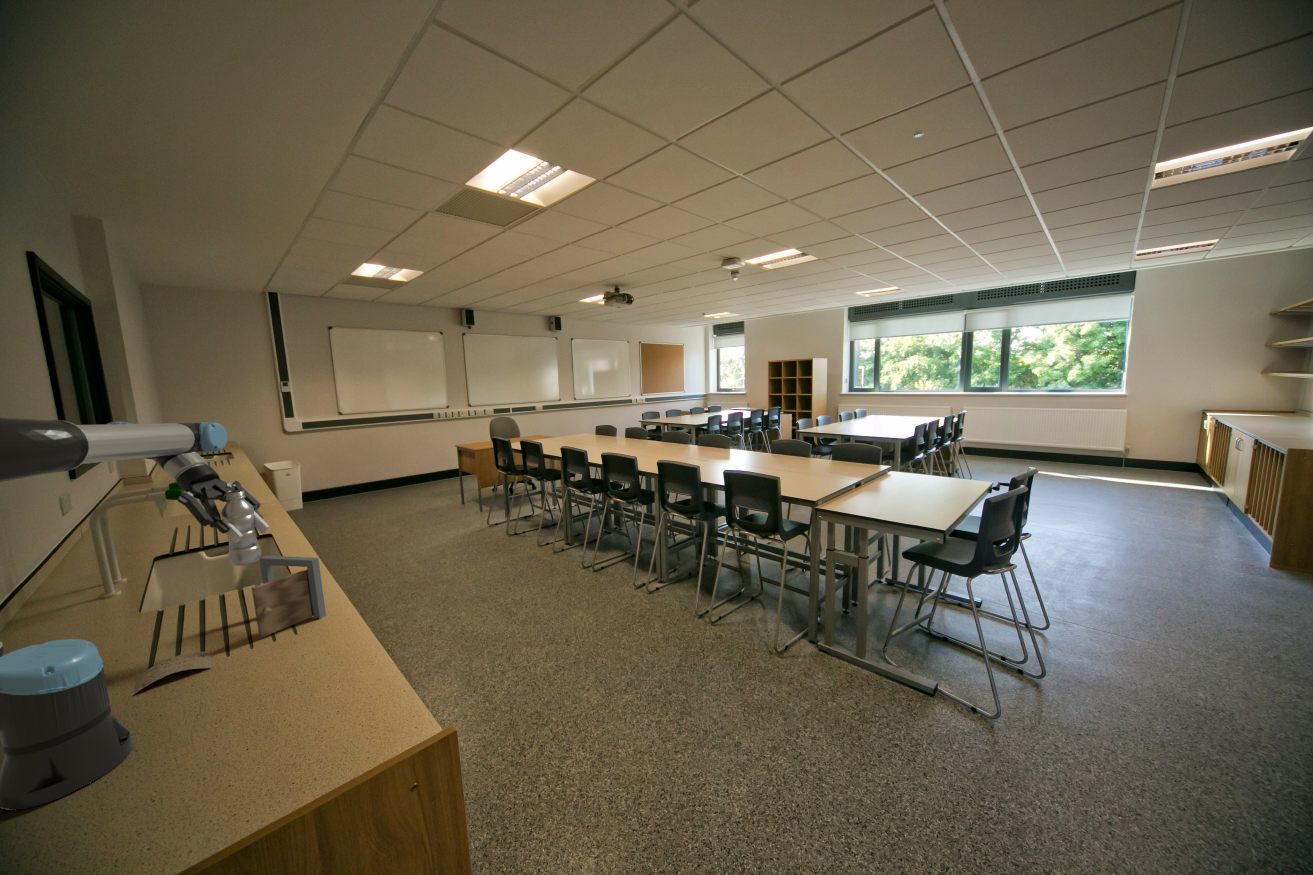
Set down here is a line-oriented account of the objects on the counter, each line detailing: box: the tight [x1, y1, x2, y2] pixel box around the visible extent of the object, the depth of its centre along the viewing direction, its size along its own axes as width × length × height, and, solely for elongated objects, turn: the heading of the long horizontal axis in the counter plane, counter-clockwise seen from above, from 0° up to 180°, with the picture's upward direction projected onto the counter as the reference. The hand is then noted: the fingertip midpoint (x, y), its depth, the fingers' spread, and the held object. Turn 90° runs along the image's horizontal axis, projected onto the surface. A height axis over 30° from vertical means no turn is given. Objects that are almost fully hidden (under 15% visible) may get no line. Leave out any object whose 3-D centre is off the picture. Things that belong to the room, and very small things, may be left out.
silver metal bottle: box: [220, 490, 262, 567], centre depth 121 cm, size 6×7×20 cm
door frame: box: [258, 555, 327, 619], centre depth 134 cm, size 2×18×18 cm, turn 81°
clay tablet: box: [132, 651, 212, 696], centre depth 110 cm, size 14×10×3 cm
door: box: [251, 569, 314, 638], centre depth 127 cm, size 13×3×14 cm, turn 151°
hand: (252, 534), depth 120 cm, fingers closed on silver metal bottle, 6 cm apart
